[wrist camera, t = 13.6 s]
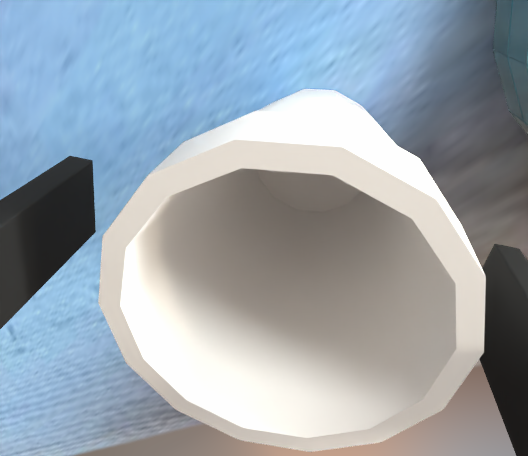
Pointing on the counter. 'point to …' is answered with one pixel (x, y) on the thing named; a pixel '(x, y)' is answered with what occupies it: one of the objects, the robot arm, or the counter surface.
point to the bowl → (513, 56)
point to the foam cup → (295, 280)
